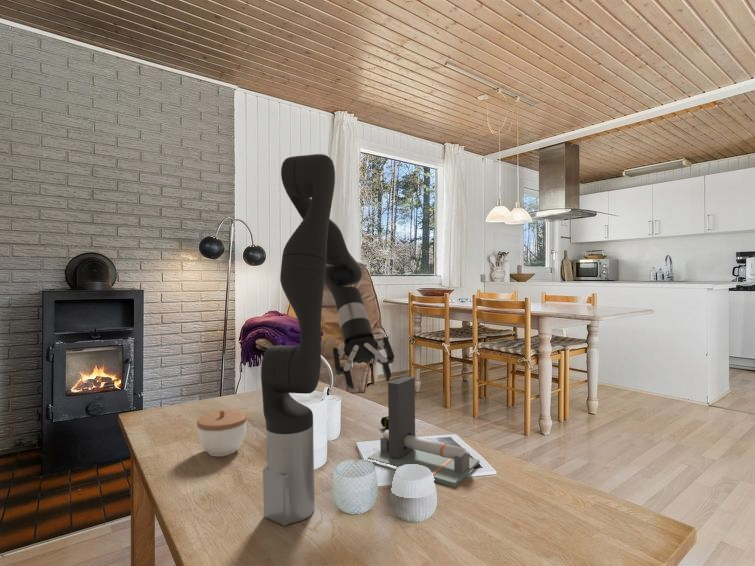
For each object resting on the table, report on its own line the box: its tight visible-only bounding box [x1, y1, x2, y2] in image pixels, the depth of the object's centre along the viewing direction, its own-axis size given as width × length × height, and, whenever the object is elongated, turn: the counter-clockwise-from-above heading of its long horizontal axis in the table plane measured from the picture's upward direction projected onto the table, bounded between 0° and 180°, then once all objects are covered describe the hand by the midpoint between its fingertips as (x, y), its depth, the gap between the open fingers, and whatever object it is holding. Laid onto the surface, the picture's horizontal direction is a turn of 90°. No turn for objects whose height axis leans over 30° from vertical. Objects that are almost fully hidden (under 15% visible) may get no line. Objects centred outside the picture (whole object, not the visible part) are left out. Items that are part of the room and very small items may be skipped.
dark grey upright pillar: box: [387, 376, 416, 458], centre depth 112 cm, size 8×3×19 cm, turn 145°
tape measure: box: [380, 415, 389, 430], centre depth 133 cm, size 7×7×4 cm
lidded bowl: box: [196, 409, 248, 458], centre depth 118 cm, size 13×13×11 cm
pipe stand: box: [367, 429, 480, 488], centre depth 109 cm, size 14×24×6 cm, turn 55°
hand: (370, 383), depth 101 cm, fingers open, 8 cm apart
